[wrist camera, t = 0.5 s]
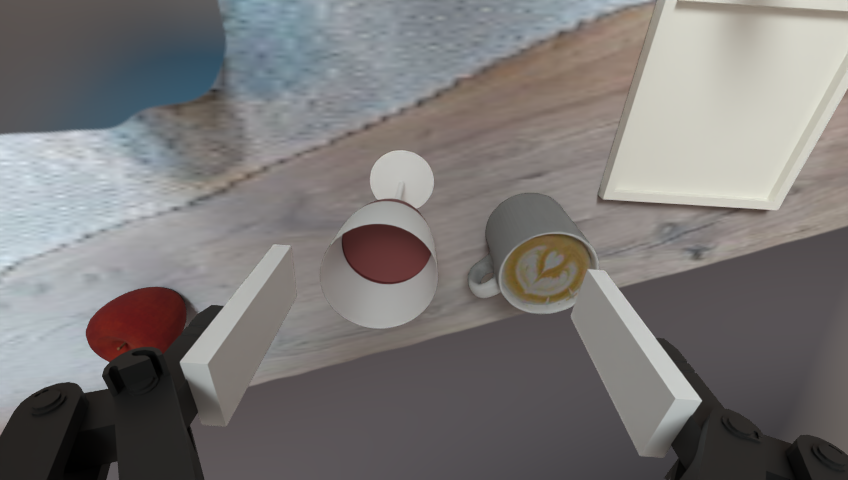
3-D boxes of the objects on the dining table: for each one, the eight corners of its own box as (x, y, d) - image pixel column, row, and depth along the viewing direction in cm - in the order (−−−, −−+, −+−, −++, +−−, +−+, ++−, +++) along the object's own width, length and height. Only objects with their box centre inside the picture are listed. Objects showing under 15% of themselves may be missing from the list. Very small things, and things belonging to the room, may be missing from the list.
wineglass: (448, 161, 41) (458, 249, 23) (419, 224, 45) (409, 341, 27) (382, 133, 39) (340, 205, 22) (358, 201, 43) (306, 308, 26)
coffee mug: (557, 180, 42) (590, 217, 33) (573, 250, 46) (606, 298, 37) (448, 218, 44) (451, 261, 35) (473, 281, 48) (482, 333, 40)
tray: (660, -13, 33) (670, -15, 31) (879, 2, 33) (898, 0, 31) (597, 194, 42) (602, 199, 41) (766, 205, 42) (777, 210, 41)
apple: (192, 335, 55) (145, 391, 46) (126, 307, 52) (64, 360, 43) (210, 293, 51) (163, 346, 42) (141, 261, 48) (75, 309, 40)
